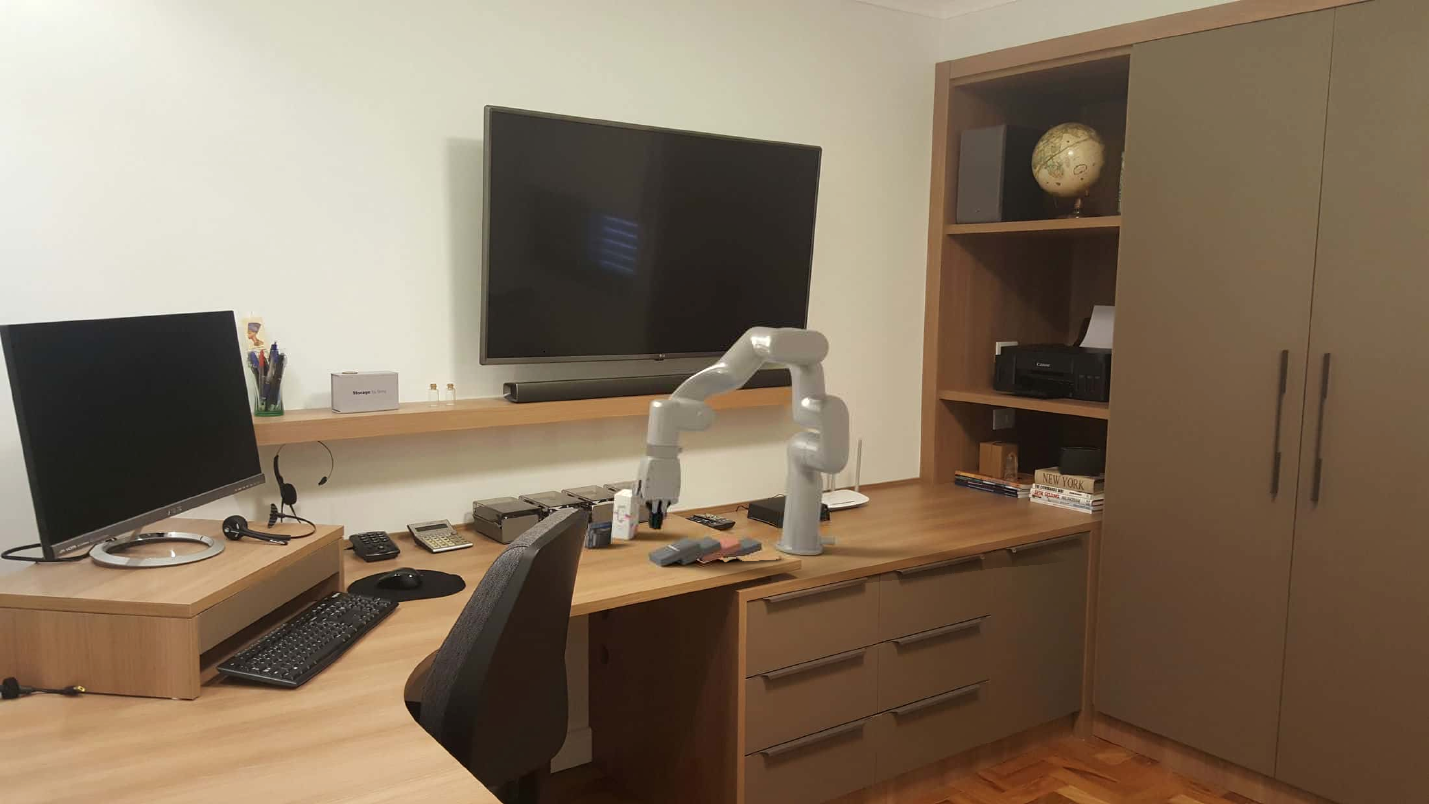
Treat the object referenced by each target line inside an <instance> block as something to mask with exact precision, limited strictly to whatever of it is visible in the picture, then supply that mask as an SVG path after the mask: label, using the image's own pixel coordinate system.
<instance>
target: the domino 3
mask: <svg viewBox="0 0 1429 804" xmlns="http://www.w3.org/2000/svg"><path fill="white" fill-rule="evenodd" d="M717 541H719V542H720V543H721V548H722V549H721V550H718V551H716V552H714V553H711V554H709V555H707V556H704V557H702V558H700V559H699V560H700V561H702V562H706V561H711V562H713V561H716V560H718V558H721V557H723V556H726V555H728V554H731V553H733V552H736V551H739V550H741V545H740V542H737V541H738V540H735V539H733V538H731V537H729V536H726V537H724V538H721V539H717ZM712 560H713V561H712Z"/></svg>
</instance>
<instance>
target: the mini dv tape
mask: <svg viewBox="0 0 1429 804" xmlns="http://www.w3.org/2000/svg"><path fill="white" fill-rule="evenodd" d="M587 524H588V529H587V536H586V540H585V547H584V546H583V549H588V550H589V549H590V550H591V549H594V548H600V547H604V546H606V547H607V546H610V545H612V538H611V536H612V524H613V520H612V521H611V520H602V521H596V522H595V521H594V522H590V523H587Z"/></svg>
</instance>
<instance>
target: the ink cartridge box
mask: <svg viewBox="0 0 1429 804" xmlns="http://www.w3.org/2000/svg"><path fill="white" fill-rule="evenodd" d="M635 486H636V481H635V482H634V483H632V484H631V489H626V488H623V489H622V490H619V491H618V492H617V493H615V494H614V499H613V514H612V515H613V516H612V535H611V539H616V540H617V539H618V540H624V541H629V540H630V539H632V538H634V537H635V536H636V535H637V534H638V530H639V529H638V527H639V517H640V504H638V503H636V500H637V497H638V496H636V495H635ZM636 533H637V534H636ZM634 535H635V536H634Z"/></svg>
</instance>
